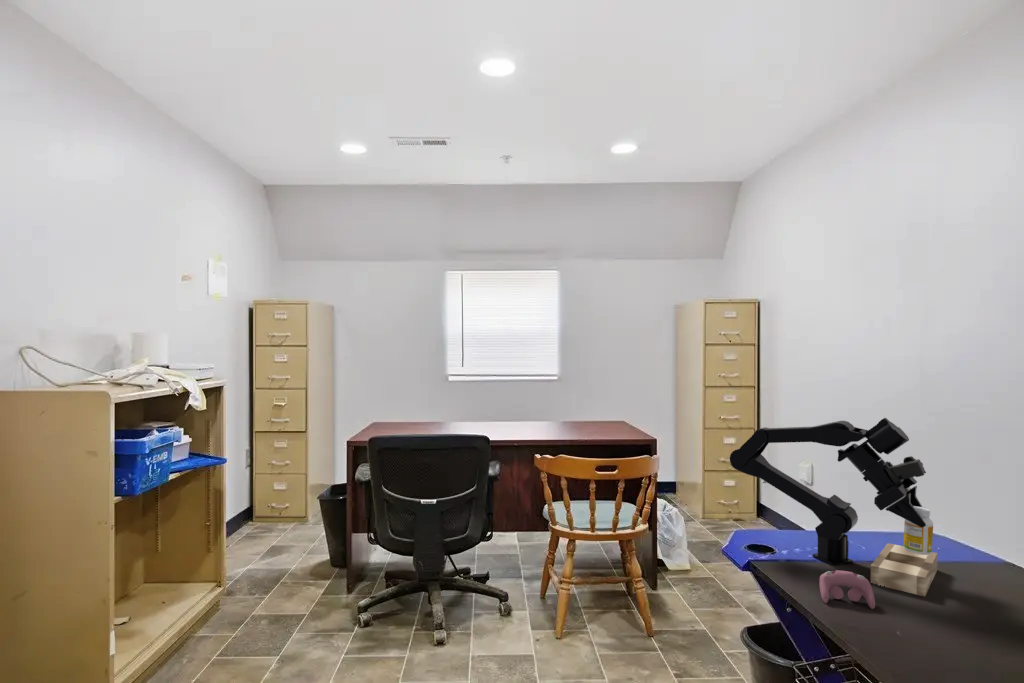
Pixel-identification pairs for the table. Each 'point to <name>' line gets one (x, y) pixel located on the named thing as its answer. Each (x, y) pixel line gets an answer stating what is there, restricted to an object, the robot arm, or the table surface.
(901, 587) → the holder block
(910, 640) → the table surface
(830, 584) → the video game controller
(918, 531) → the supplement bottle
